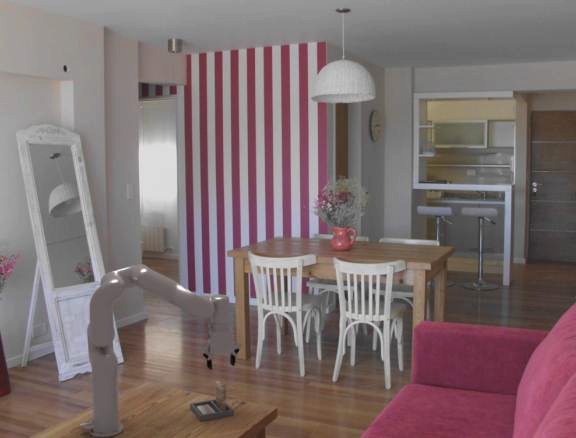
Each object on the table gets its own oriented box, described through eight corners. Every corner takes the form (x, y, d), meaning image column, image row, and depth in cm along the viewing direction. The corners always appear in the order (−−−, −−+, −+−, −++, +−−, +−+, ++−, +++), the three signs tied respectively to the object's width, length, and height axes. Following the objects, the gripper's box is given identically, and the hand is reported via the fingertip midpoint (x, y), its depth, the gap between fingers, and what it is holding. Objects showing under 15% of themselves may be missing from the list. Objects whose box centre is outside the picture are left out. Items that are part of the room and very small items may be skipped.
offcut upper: (204, 418, 259) (204, 415, 259) (196, 409, 268) (196, 406, 268) (216, 416, 261) (216, 413, 261) (208, 407, 270) (208, 404, 270)
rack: (200, 423, 257) (200, 416, 256) (190, 410, 269) (190, 403, 269) (233, 417, 262) (233, 410, 262) (221, 405, 275) (221, 398, 275)
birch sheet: (221, 415, 264) (221, 387, 263) (216, 409, 270) (215, 381, 269) (226, 415, 265) (226, 386, 264) (220, 408, 271) (220, 380, 270)
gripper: (202, 330, 257) (203, 372, 259) (243, 325, 264) (244, 366, 266) (196, 326, 264) (198, 367, 265) (237, 320, 271) (238, 361, 273)
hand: (221, 366), depth 266 cm, fingers open, 9 cm apart
